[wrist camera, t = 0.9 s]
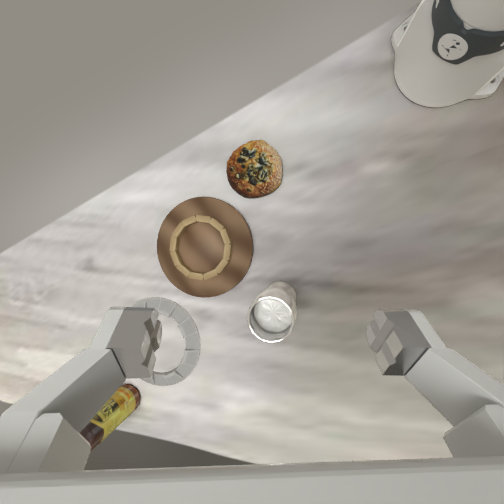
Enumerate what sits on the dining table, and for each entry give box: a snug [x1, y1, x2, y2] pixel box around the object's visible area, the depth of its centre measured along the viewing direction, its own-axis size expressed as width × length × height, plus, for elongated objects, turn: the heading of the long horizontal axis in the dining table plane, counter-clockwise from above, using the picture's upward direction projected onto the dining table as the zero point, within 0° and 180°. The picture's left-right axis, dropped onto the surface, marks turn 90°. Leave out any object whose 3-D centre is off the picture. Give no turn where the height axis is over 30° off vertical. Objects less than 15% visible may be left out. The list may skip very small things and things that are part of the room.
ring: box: [132, 298, 200, 386], centre depth 56 cm, size 19×19×2 cm
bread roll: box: [227, 140, 283, 198], centre depth 49 cm, size 11×11×5 cm
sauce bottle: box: [80, 384, 140, 451], centre depth 49 cm, size 6×6×20 cm
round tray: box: [157, 197, 253, 297], centre depth 52 cm, size 20×20×3 cm
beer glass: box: [247, 281, 297, 343], centre depth 43 cm, size 7×7×15 cm
